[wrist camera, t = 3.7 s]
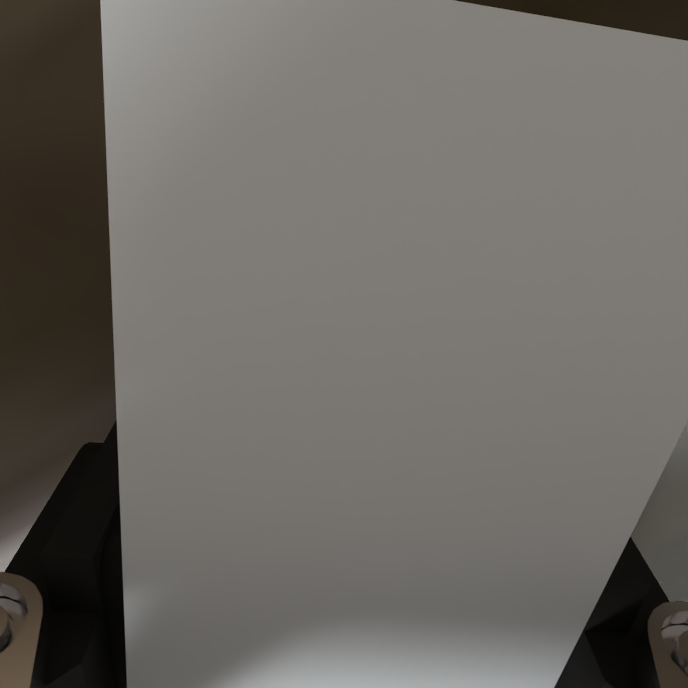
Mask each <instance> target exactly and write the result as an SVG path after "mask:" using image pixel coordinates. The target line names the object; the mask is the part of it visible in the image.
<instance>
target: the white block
mask: <svg viewBox="0 0 688 688" xmlns="http://www.w3.org/2000/svg"><path fill="white" fill-rule="evenodd" d="M100 4H101V30H102V56H103V81H104V107H105V133H106V159H107V184H108V210H109V236H110V261H111V287H112V313H113V339H114V364H115V390H116V416H117V442H118V467H119V493H120V519H121V545H122V570H123V596H124V622H125V648H126V673H127V688H554V687H555V685H556V683H557V681H558V679H559V677H560V675H561V673H562V671H563V669H564V667H565V665H566V663H567V661H568V659H569V657H570V655H571V653H572V651H573V649H574V647H575V645H576V643H577V641H578V639H579V637H580V635H581V633H582V631H583V629H584V627H585V625H586V623H587V621H588V619H589V617H590V615H591V613H592V611H593V609H594V607H595V605H596V603H597V601H598V599H599V597H600V595H601V593H602V591H603V589H604V587H605V586H606V584H607V582H608V580H609V578H610V576H611V574H612V572H613V570H614V568H615V566H616V564H617V562H618V560H619V558H620V556H621V554H622V552H623V550H624V548H625V546H626V544H627V542H628V540H629V538H630V536H631V534H632V532H633V530H634V528H635V526H636V524H637V522H638V520H639V518H640V516H641V514H642V512H643V510H644V508H645V506H646V504H647V502H648V500H649V498H650V496H651V494H652V492H653V490H654V488H655V486H656V484H657V482H658V480H659V478H660V476H661V474H662V472H663V470H664V468H665V466H666V464H667V462H668V460H669V458H670V456H671V454H672V452H673V450H674V448H675V446H676V444H677V442H678V440H679V438H680V436H681V434H682V432H683V430H684V428H685V426H686V424H687V422H688V41H685V40H680V39H674V38H668V37H662V36H657V35H651V34H645V33H639V32H633V31H628V30H622V29H616V28H610V27H605V26H599V25H593V24H587V23H582V22H576V21H570V20H564V19H558V18H553V17H547V16H541V15H535V14H530V13H524V12H518V11H512V10H507V9H501V8H495V7H489V6H483V5H478V4H472V3H466V2H460V1H455V0H100Z"/></svg>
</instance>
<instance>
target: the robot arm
mask: <svg viewBox="0 0 688 688" xmlns="http://www.w3.org/2000/svg"><path fill="white" fill-rule="evenodd" d="M0 688H127V673H126V648H125V622H124V596H123V570H122V545H121V519H120V493H119V467H118V442H117V420H116V422H115V424H114V425H113V427H112V429H111V431H110V432H109V434H108V436H107V438H106V440H105V441H104V443H91V442H89V443H87V444H84V445H83V447H82V448H81V449H80V450H79V452H78V453H77V455H76V457H75V458H74V460H73V461H72V463H71V465H70V466H69V468H68V470H67V471H66V473H65V474H64V476H63V478H62V479H61V481H60V483H59V484H58V486H57V487H56V489H55V491H54V492H53V494H52V496H51V497H50V499H49V500H48V502H47V504H46V505H45V507H44V509H43V510H42V512H41V514H40V515H39V517H38V518H37V520H36V522H35V523H34V525H33V527H32V528H31V530H30V531H29V533H28V535H27V536H26V538H25V540H24V541H23V543H22V544H21V546H20V548H19V549H18V551H17V553H16V554H15V556H14V557H13V559H12V561H11V562H10V564H9V566H8V567H7V569H6V570H5V572H0ZM554 688H688V602H687V601H673V602H670V601H669V600H668V598H667V596H666V595H665V593H664V592H663V590H662V588H661V587H660V585H659V583H658V582H657V580H656V578H655V577H654V575H653V573H652V572H651V570H650V568H649V567H648V565H647V563H646V562H645V560H644V558H643V557H642V555H641V553H640V552H639V550H638V548H637V547H636V545H635V543H634V542H633V540H632V539H631V537H630V538H629V540H628V542H627V544H626V546H625V548H624V550H623V552H622V554H621V556H620V558H619V560H618V562H617V564H616V566H615V568H614V570H613V572H612V574H611V576H610V578H609V580H608V582H607V584H606V586H605V587H604V589H603V591H602V593H601V595H600V597H599V599H598V601H597V603H596V605H595V607H594V609H593V611H592V613H591V615H590V617H589V619H588V621H587V623H586V625H585V627H584V629H583V631H582V633H581V635H580V637H579V639H578V641H577V643H576V645H575V647H574V649H573V651H572V653H571V655H570V657H569V659H568V661H567V663H566V665H565V667H564V669H563V671H562V673H561V675H560V677H559V679H558V681H557V683H556V685H555V687H554Z"/></svg>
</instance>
